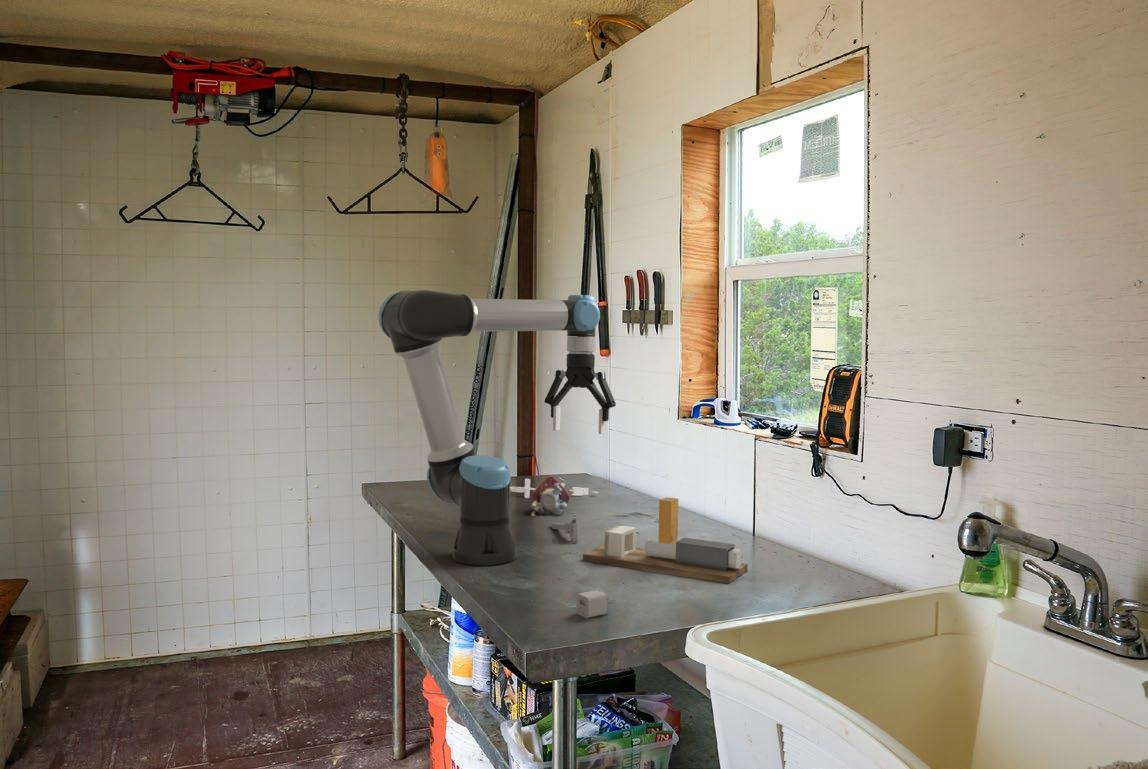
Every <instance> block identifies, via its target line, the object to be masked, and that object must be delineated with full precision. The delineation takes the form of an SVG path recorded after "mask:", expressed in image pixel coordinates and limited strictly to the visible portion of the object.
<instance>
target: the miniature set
mask: <svg viewBox="0 0 1148 769" xmlns="http://www.w3.org/2000/svg"><path fill="white" fill-rule="evenodd" d="M560 484H561V485H562V486H563V488H564V487H565V486H566V485H565V484H566V483H564V482H560ZM536 488H537V487H536ZM536 488H535V487H531V479H530V478H525V479H524V486H510V493H524V494H523V495H524V496H523V497H524V498H525V499H530V493H531V491H532V493H533V492H534V490H535V489H536ZM565 490H566V491H567V492H568V490H567V489H565ZM589 490H590V489H589V487H578V486H577V487H576V486H573V487H571V489H569V492H572V493H571V496H577V497H578V496H580V497H581V496H584V495H585V496H588V495H589ZM590 492H591V493H590V494H597V495H598V494H599V491H595V490H592V491H590Z"/></svg>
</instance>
